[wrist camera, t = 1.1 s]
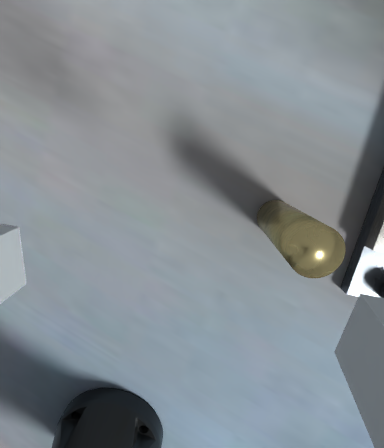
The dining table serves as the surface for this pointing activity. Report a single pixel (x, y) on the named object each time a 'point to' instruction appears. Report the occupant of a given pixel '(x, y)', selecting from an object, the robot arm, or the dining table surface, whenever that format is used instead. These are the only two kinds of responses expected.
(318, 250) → the toggle switch lever
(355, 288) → the toggle switch plate
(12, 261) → the robot arm
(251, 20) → the dining table surface
